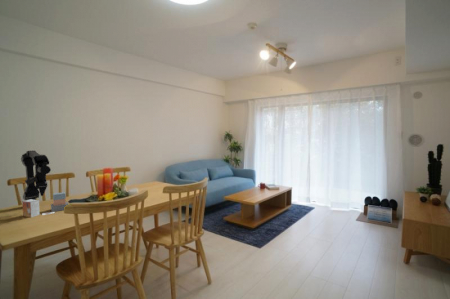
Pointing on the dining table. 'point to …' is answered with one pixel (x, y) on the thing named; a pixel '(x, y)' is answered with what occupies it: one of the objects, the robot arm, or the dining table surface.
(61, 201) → the terracotta brick
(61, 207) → the charcoal base brick
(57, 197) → the slate brick
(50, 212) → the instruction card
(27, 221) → the dining table surface
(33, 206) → the small box
